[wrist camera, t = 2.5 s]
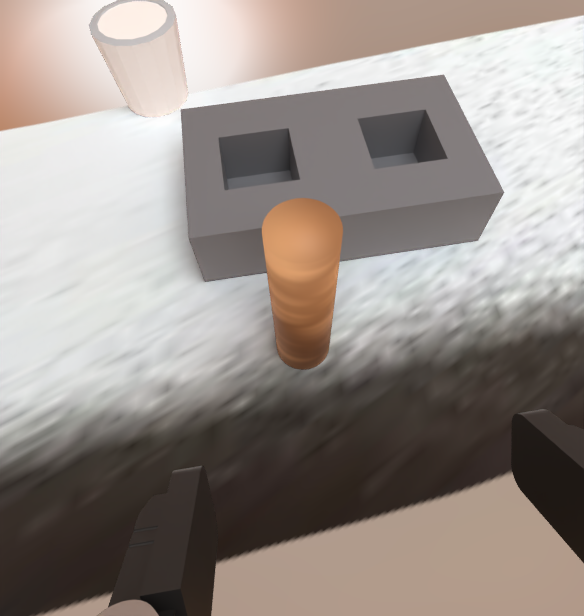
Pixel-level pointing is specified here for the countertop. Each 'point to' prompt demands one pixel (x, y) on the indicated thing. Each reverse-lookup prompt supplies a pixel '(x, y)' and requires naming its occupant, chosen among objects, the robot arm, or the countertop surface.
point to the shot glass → (143, 54)
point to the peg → (302, 277)
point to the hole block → (336, 171)
